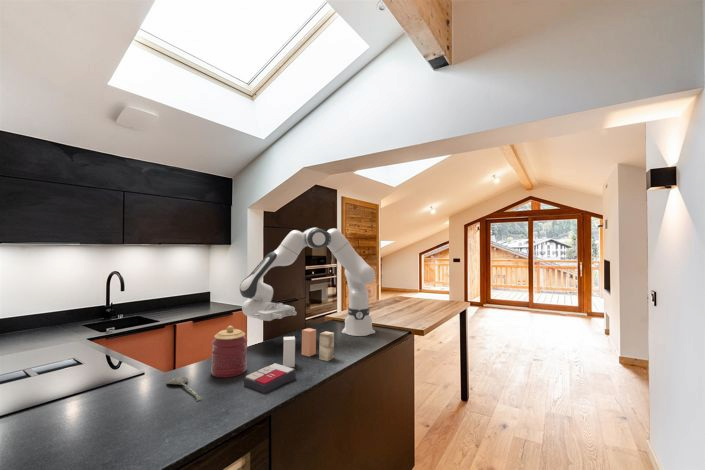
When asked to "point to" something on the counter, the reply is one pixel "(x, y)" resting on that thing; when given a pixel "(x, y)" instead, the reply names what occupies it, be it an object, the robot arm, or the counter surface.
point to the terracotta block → (308, 342)
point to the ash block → (326, 346)
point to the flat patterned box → (269, 378)
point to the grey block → (289, 352)
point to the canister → (229, 353)
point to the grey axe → (181, 382)
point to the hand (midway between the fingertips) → (288, 315)
